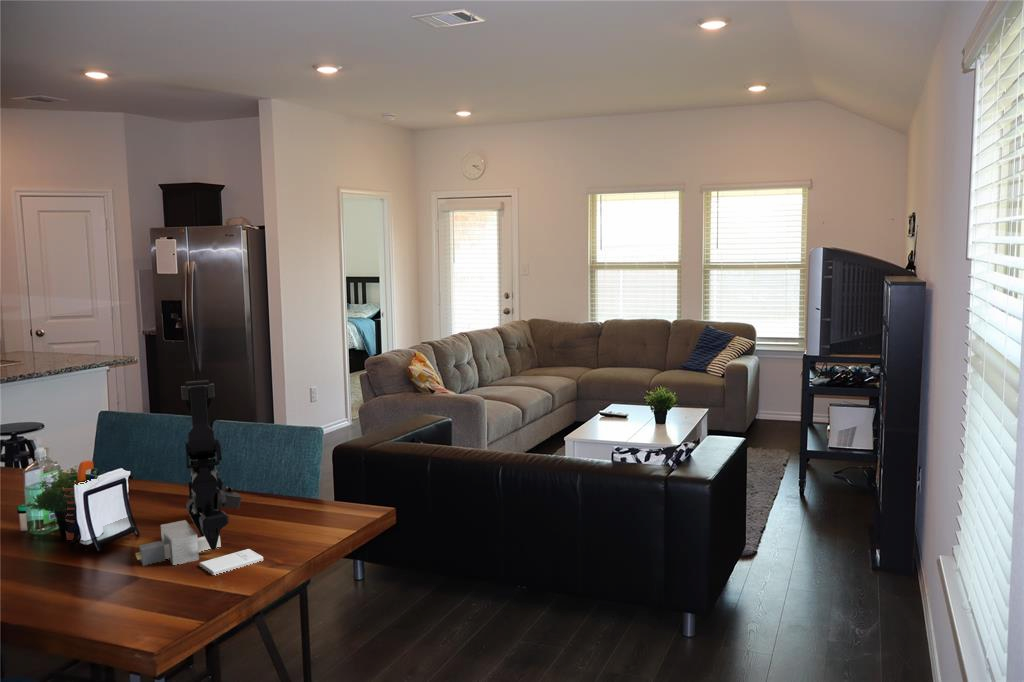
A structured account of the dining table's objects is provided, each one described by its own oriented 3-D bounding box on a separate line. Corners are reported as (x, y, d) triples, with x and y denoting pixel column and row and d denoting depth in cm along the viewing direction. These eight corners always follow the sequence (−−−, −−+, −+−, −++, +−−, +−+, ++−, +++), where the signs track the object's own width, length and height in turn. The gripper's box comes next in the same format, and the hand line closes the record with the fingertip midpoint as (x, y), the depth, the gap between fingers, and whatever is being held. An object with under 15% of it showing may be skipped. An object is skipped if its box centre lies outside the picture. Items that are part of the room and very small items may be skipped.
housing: (162, 549, 206) (160, 525, 205) (187, 544, 209) (185, 520, 208) (173, 565, 195) (171, 539, 194) (199, 559, 199) (197, 534, 198)
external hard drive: (199, 568, 195) (248, 553, 203) (213, 578, 189) (263, 562, 197) (199, 562, 194) (248, 547, 203) (213, 571, 189) (263, 556, 197)
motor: (57, 538, 216) (50, 465, 214) (88, 527, 224) (81, 457, 222) (81, 543, 212) (74, 469, 209) (112, 532, 219) (105, 460, 217)
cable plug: (217, 543, 209) (216, 529, 209) (221, 548, 206) (220, 533, 205) (135, 562, 198) (134, 546, 198) (138, 567, 195) (137, 551, 195)
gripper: (247, 487, 201) (251, 548, 203) (227, 471, 216) (231, 527, 218) (201, 496, 195) (205, 558, 197) (183, 478, 210) (188, 536, 212)
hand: (209, 544), depth 206 cm, fingers open, 8 cm apart
